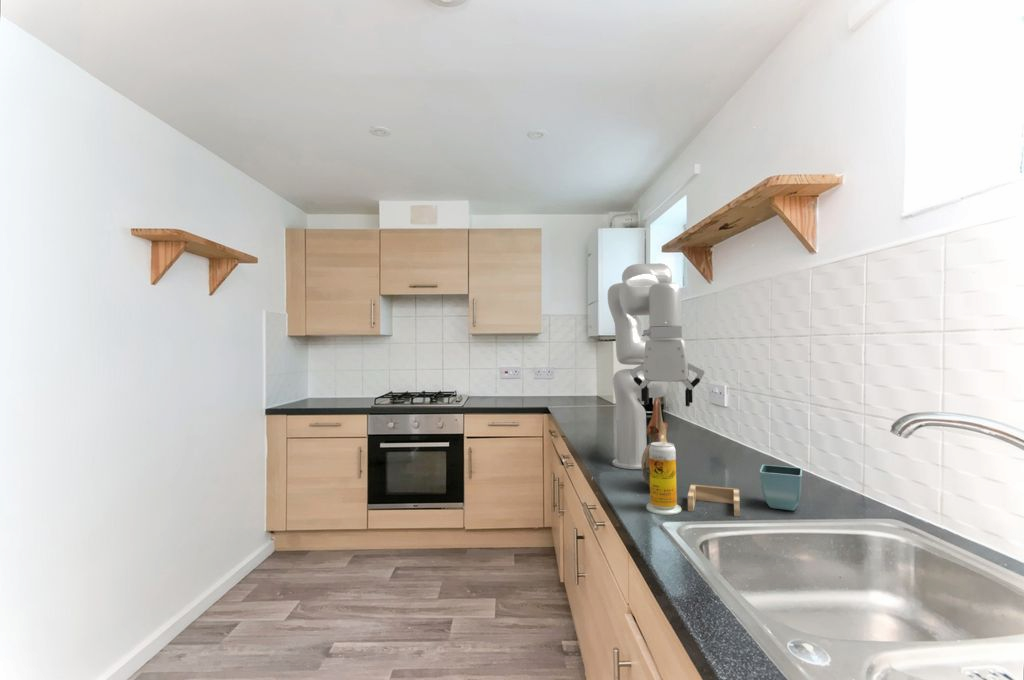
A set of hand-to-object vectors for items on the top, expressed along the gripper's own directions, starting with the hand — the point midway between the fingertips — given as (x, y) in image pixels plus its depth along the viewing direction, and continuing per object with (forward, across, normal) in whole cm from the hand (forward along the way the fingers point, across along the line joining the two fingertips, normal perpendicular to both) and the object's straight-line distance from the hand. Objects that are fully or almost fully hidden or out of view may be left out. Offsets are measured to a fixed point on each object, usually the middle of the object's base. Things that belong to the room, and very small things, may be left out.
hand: (666, 405), depth 120 cm
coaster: (+25, -1, -2) cm, 25 cm away
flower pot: (+25, +25, +11) cm, 37 cm away
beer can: (+24, -1, -1) cm, 24 cm away
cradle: (+25, +10, +5) cm, 27 cm away
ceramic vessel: (+25, -4, +16) cm, 30 cm away
